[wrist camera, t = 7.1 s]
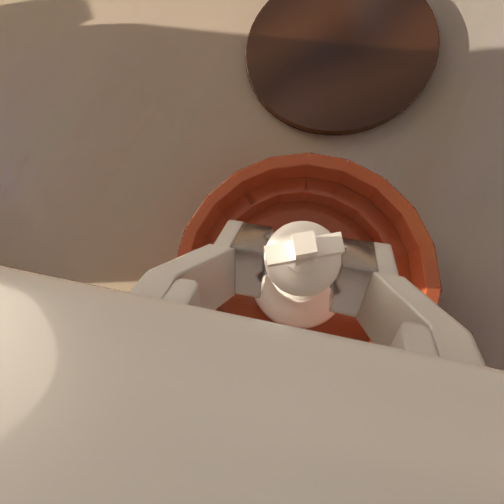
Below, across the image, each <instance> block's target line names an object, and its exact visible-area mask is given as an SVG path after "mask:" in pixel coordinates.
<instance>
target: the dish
mask: <svg viewBox="0 0 504 504" xmlns="http://www.w3.org/2000/svg"><path fill="white" fill-rule="evenodd" d="M229 220H236V221H243V222H248V223H254V224H260V225H265V226H271V227H273V234H274V233H275V232H276V231H277V230H278V229H279V228H281V227H282V226H284V225H286V224H288V223H291V222H295V221H309V222H314V223H317V224H319V225H321V226H323V227H324V228H326V229H327V230H328V231H329V232H330V233H335V232H341V235H342V238H347V239H355V240H362V241H370V242H378V243H387V244H390V245H391V247H392V251H393V255H394V259H395V263H396V266H397V270H398V274H399V276H402V277H405V278H406V279H407V280H408V281H410V282H411V283H412V284H413V285H414V286H416V287H417V288H418V289H419V290H420V291H422V292H423V293H424V294H425V295H426V296H428V297H429V298H430V299H431V300H433V301H434V302H435V303H436V304H437V305H439V300H440V294H441V289H440V288H441V282H440V276H439V270H438V264H437V258H436V251H435V246H434V243H433V241H432V239H431V237H430V235H429V233H428V232H427V230H426V228H425V226H424V224H423V222H422V220H421V218H420V216H419V215H418V213H417V211H416V209H415V208H414V207H413V205H412V204H411V203H410V202H408V201H407V200H406V199H405V198H404V197H403V196H402V195H401V194H400V193H399V192H398V191H397V190H396V189H395V188H394V187H393V186H392V185H391V184H390V183H389V182H388V181H387V180H386V179H384V178H383V177H381V176H379V175H377V174H375V173H373V172H371V171H370V170H368V169H366V168H364V167H362V166H360V165H358V164H356V163H354V162H352V161H350V160H347V159H342V158H336V157H331V156H325V155H319V154H314V153H302V154H293V155H285V156H276V157H271V158H270V157H269V158H267V159H264V160H262V161H260V162H257V163H255V164H253V165H250V166H248V167H246V168H243V169H241V170H239V171H236V173H234V174H232V175H231V176H230V177H229V178H228V179H226V180H225V181H224V182H223V183H222V184H220V185H219V186H218V187H217V188H216V189H214V190H213V191H212V192H211V193H210V194H208V195H207V197H205V199H204V200H203V202H202V204H201V205H200V207H199V208H198V210H197V211H196V213H195V214H194V216H193V217H192V219H191V220H190V222H189V223H188V225H187V226H186V228H185V231H184V234H183V237H182V241H181V244H180V247H179V251H178V254H177V257H180V256H182V255H184V254H187V253H189V252H191V251H194V250H196V249H198V248H201V247H203V246H205V245H208V244H214V243H215V241H216V240H217V238H218V236H219V235H220V233H221V231H222V230H223V228H224V226H225V225H226V223H227V222H228V221H229ZM177 257H176V258H177ZM216 311H221V312H225V313H230V314H235V315H240V316H245V317H250V318H254V319H259V320H264V321H269V322H274V321H272V320H271V319H270V318H268V317H267V316H266V315H265V314H264V313H263V311H262V310H261V309H260V308H259V306H258V304H257V302H256V300H255V298H254V297H251V296H245V295H240V294H235V295H234V296H233V297H231V298H230V299H229V300H227V301H226V302H225V303H223V304H222V305H221V306H220V307H218V308H217V309H216ZM274 323H276V322H274ZM307 330H312V331H317V332H322V333H326V334H331V335H336V336H341V337H346V338H351V339H355V340H360V341H365V342H370V343H372V341H371V340H370V338H369V337H368V335H367V334H366V332H365V331H364V329H363V328H362V326H361V325H360V323H359V322H358V320H357V318H356V317H352V316H347V315H343V314H338V313H335V314H334V315H333V316H332V317H331V318H330V319H329V320H327V321H326V322H324V323H322V324H320V325H318V326H316V327H312V328H307Z"/></svg>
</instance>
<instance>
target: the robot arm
mask: <svg viewBox="0 0 504 504" xmlns="http://www.w3.org/2000/svg"><path fill="white" fill-rule="evenodd" d="M272 235H273V227H271V226H265V225H260V224H254V223H248V222H243V221H236V220H229V221H228V222H227V223H226V225H225V226H224V228H223V230H222V231H221V233H220V235H219V236H218V238H217V240H216V241H215V243H214V244H208V245H205V246H203V247H201V248H198V249H196V250H194V251H191V252H189V253H187V254H184V255H182V256H180V257H177V258H175V259H173V260H170V261H168V262H166V263H163V264H161V265H159V266H156V267H154V268H152V269H149V270H147V271H146V273H145V274H144V275H143V276H142V277H141V279H140V280H139V281H138V282H137V283H136V285H135V286H134V287H133V288H132V289H131V291H130V292H125V291H120V290H115V289H110V288H105V287H100V286H96V285H91V284H86V283H81V282H76V281H72V280H67V279H62V278H57V277H52V276H48V275H43V274H38V273H33V272H28V271H23V270H19V269H14V268H9V267H4V266H0V504H504V370H500V369H495V368H490V367H487V366H486V364H485V362H484V360H483V357H482V355H481V353H480V351H479V348H478V346H477V344H476V342H475V339H474V337H473V335H472V333H471V332H470V331H469V330H467V329H466V328H465V327H464V326H463V325H461V324H460V323H459V322H458V321H457V320H455V319H454V318H453V317H452V316H451V315H449V314H448V313H447V312H446V311H445V310H443V309H442V308H441V307H440V306H439V305H437V304H436V303H435V302H434V301H433V300H431V299H430V298H429V297H428V296H426V295H425V294H424V293H423V292H422V291H420V290H419V289H418V288H417V287H416V286H414V285H413V284H412V283H411V282H410V281H408V280H407V279H406V278H405V277H402V276H399V274H398V270H397V266H396V263H395V259H394V255H393V251H392V247H391V245H390V244H387V243H378V242H370V241H362V240H355V239H347V238H342V239H343V244H344V248H345V252H344V253H343V254H341V267H340V270H339V273H338V275H337V277H336V279H335V280H334V282H333V283H332V284H331V285H330V288H331V292H330V296H329V312H334V313H338V314H343V315H347V316H352V317H356V318H357V320H358V322H359V323H360V325H361V326H362V328H363V329H364V331H365V332H366V334H367V335H368V337H369V338H370V340H371V341H372V343H370V342H365V341H360V340H355V339H351V338H346V337H341V336H336V335H331V334H326V333H322V332H317V331H312V330H307V329H302V328H298V327H293V326H288V325H283V324H278V323H274V322H269V321H264V320H259V319H254V318H250V317H245V316H240V315H235V314H230V313H225V312H221V311H216V309H217V308H218V307H220V306H221V305H222V304H223V303H225V302H226V301H227V300H229V299H230V298H231V297H233V296H234V295H235V294H240V295H245V296H251V297H257V298H260V297H261V293H262V290H263V287H264V283H265V276H267V272H266V269H265V264H264V253H265V251H264V246H266V245H267V243H268V241H269V239H270V238H271V236H272Z"/></svg>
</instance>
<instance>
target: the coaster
mask: <svg viewBox="0 0 504 504" xmlns="http://www.w3.org/2000/svg"><path fill="white" fill-rule="evenodd" d="M438 52H439V31H438V27H437V23H436V19H435V17H434V15H433V12H432V10H431V8H430V7H429V5H428V3H427V2H426V0H269V1H268V2H267V3H266V4H265V6H264V7H263V8H262V9H261V11H260V12H259V14H258V15H257V17H256V19H255V21H254V23H253V25H252V27H251V30H250V32H249V35H248V39H247V44H246V55H245V59H246V69H247V73H248V77H249V81H250V84H251V86H252V88H253V91H254V93H255V94H256V96H257V97H258V99H259V101H260V102H261V103H262V104H263V105H264V106H265V108H266V109H267V110H268V111H270V112H271V113H272V114H273V115H274V116H275V117H277V118H278V119H280V120H281V121H283V122H285V123H287V124H289V125H291V126H293V127H295V128H298V129H301V130H304V131H307V132H312V133H317V134H327V135H340V134H350V133H356V132H360V131H364V130H367V129H371V128H373V127H376V126H378V125H381V124H383V123H385V122H386V121H388V120H390V119H392V118H394V117H395V116H397V115H398V114H399V113H401V112H402V111H403V110H405V109H406V108H407V107H408V106H409V105H410V104H411V103H412V102H413V101H414V100H415V99H416V98H417V97H418V95H419V94H420V93H421V92H422V90H423V89H424V87H425V85H426V84H427V82H428V80H429V79H430V77H431V75H432V73H433V70H434V68H435V65H436V61H437V57H438Z"/></svg>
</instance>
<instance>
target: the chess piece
mask: <svg viewBox="0 0 504 504" xmlns="http://www.w3.org/2000/svg"><path fill="white" fill-rule="evenodd" d="M264 251H265V253H264V264H265V269H266V272H267V276H265V283H264V287H263V290H262V293H261V297H260V298H257V297H254V298H255V300H256V302H257V304H258V306H259V308H260V309H261V310H262V311H263V313H264V314H265V315H266V316H267V317H268V318H270V319H271V320H272V321H274V322H276V323H278V324H283V325H288V326H293V327H298V328H302V329H307V328H312V327H316V326H318V325H320V324H322V323H324V322H326V321H327V320H329V319H330V318H331V317H332V316H333V315H334V314H335V313H334V312H329V296H330V292H331V288H330V285H331V284H332V283H333V282H334V280H335V279H336V277H337V275H338V273H339V270H340V267H341V254H343V253H344V252H345V248H344V244H343V239H342V235H341V232H335V233H330V232H329V231H328V230H327V229H326V228H324V227H323V226H321V225H319V224H317V223H314V222H309V221H295V222H291V223H288V224H286V225H284V226H282V227H281V228H279V229H278V230H277V231H276V232H275V233H274V234H273V235H272V236H271V238H270V239H269V241H268V243H267V245H266V246H264Z"/></svg>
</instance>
